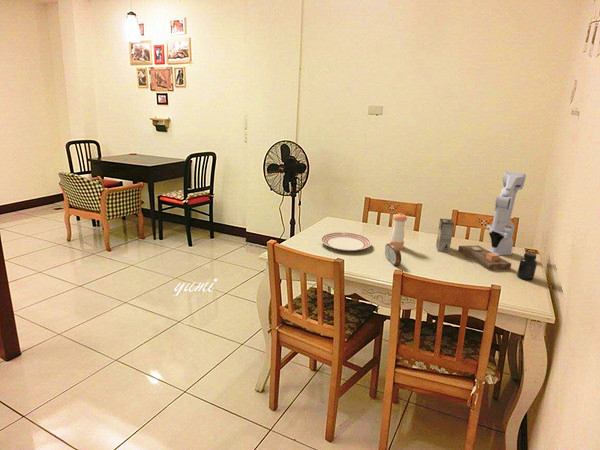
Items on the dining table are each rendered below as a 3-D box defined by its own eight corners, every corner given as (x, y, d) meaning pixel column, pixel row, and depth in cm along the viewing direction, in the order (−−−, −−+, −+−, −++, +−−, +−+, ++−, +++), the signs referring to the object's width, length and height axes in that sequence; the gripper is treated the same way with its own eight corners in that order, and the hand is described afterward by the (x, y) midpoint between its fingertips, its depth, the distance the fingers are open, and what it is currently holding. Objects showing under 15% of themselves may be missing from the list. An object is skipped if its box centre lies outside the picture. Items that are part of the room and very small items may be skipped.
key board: (477, 250, 218) (478, 245, 217) (510, 269, 193) (511, 263, 192) (458, 251, 215) (458, 245, 214) (488, 270, 191) (489, 264, 190)
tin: (400, 267, 189) (403, 251, 186) (394, 267, 188) (396, 251, 186) (389, 256, 203) (390, 240, 200) (383, 256, 202) (385, 240, 200)
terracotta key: (492, 258, 200) (493, 252, 199) (497, 261, 196) (499, 255, 195) (485, 258, 199) (486, 253, 198) (490, 261, 195) (491, 255, 194)
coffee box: (435, 245, 223) (439, 218, 218) (447, 246, 221) (451, 219, 217) (437, 250, 214) (442, 222, 209) (449, 252, 213) (454, 223, 208)
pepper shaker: (388, 247, 215) (392, 213, 210) (390, 243, 222) (395, 210, 216) (402, 249, 213) (406, 215, 207) (404, 245, 219) (408, 212, 214)
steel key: (476, 252, 212) (477, 247, 212) (481, 255, 209) (482, 249, 208) (469, 252, 212) (470, 247, 211) (474, 255, 208) (475, 249, 207)
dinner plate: (366, 258, 199) (366, 251, 198) (314, 249, 207) (314, 243, 206) (374, 241, 224) (375, 236, 223) (327, 234, 232) (328, 229, 231)
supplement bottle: (513, 274, 187) (518, 251, 183) (527, 275, 188) (532, 251, 184) (522, 281, 180) (528, 256, 177) (536, 281, 181) (542, 256, 178)
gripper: (483, 216, 198) (478, 242, 202) (502, 225, 184) (496, 252, 188) (495, 216, 199) (490, 242, 203) (515, 225, 185) (509, 252, 189)
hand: (494, 247), depth 196 cm, fingers closed
